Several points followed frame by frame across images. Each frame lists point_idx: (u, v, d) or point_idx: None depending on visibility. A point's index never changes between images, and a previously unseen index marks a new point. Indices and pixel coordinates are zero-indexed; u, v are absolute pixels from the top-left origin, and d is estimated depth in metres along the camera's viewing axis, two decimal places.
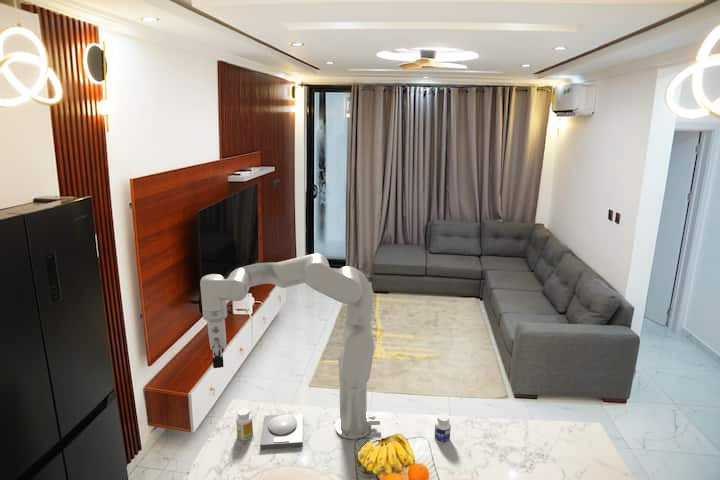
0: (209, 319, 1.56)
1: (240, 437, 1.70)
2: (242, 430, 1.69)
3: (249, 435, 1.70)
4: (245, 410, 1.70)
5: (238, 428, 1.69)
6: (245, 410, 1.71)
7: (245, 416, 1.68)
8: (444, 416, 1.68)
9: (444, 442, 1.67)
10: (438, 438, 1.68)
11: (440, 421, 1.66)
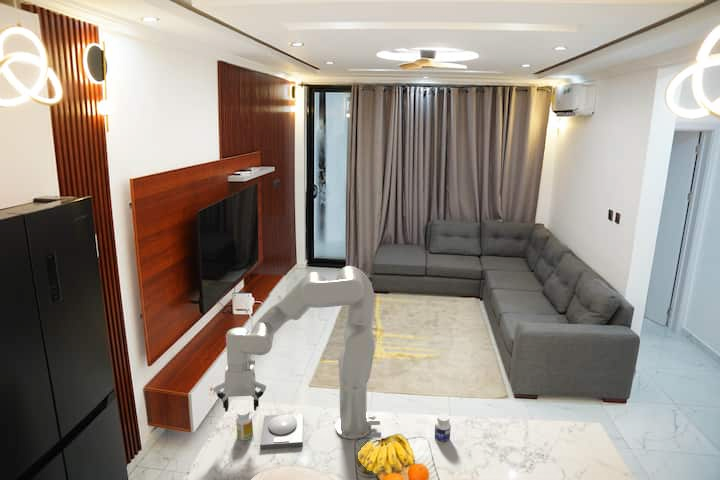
0: (248, 368, 1.64)
1: (240, 437, 1.70)
2: (242, 430, 1.69)
3: (249, 435, 1.70)
4: (245, 410, 1.70)
5: (238, 428, 1.69)
6: (245, 410, 1.71)
7: (245, 416, 1.68)
8: (444, 416, 1.68)
9: (444, 442, 1.67)
10: (438, 438, 1.68)
11: (440, 421, 1.66)
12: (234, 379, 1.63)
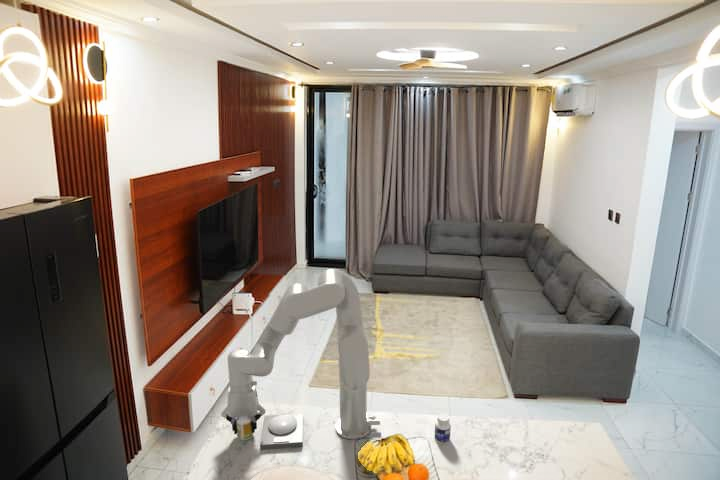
0: (250, 389, 1.66)
1: (240, 437, 1.70)
2: (242, 429, 1.69)
3: (249, 435, 1.70)
4: None
5: (238, 428, 1.69)
6: None
7: None
8: (444, 416, 1.68)
9: (444, 442, 1.67)
10: (438, 438, 1.68)
11: (440, 421, 1.66)
12: (237, 401, 1.66)
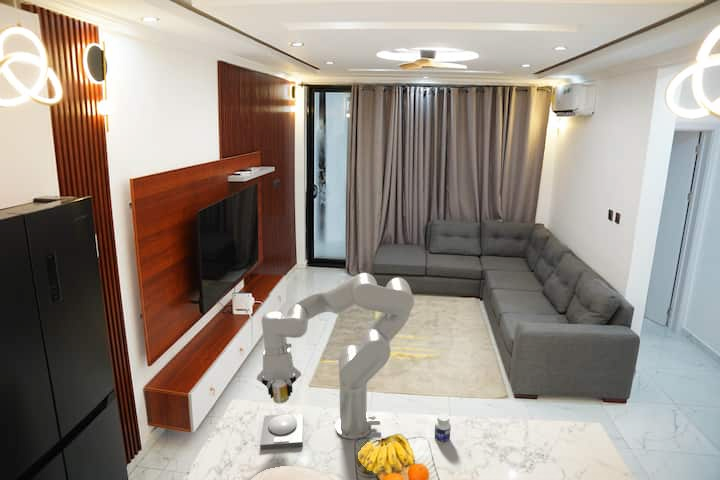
0: (286, 351, 1.65)
1: (276, 400, 1.69)
2: (278, 393, 1.68)
3: (285, 398, 1.69)
4: None
5: (274, 391, 1.68)
6: None
7: None
8: (444, 416, 1.68)
9: (444, 442, 1.67)
10: (438, 438, 1.68)
11: (440, 421, 1.66)
12: (272, 363, 1.65)
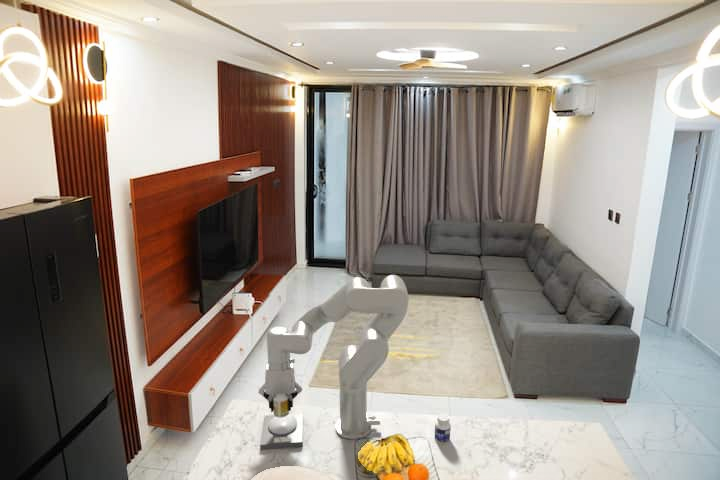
0: (289, 367, 1.67)
1: (277, 414, 1.70)
2: (279, 407, 1.69)
3: (285, 413, 1.71)
4: None
5: (275, 405, 1.70)
6: None
7: None
8: (444, 416, 1.68)
9: (444, 442, 1.67)
10: (438, 438, 1.68)
11: (440, 421, 1.66)
12: (275, 378, 1.66)
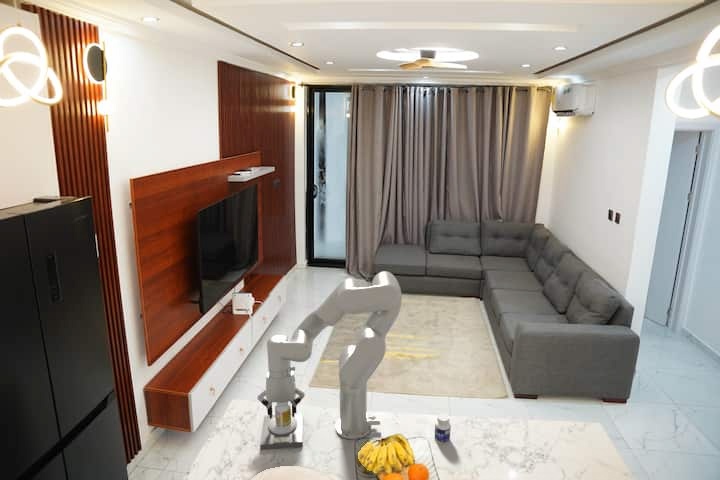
0: (289, 374, 1.67)
1: (279, 425, 1.72)
2: (281, 417, 1.71)
3: (288, 423, 1.72)
4: None
5: (277, 416, 1.71)
6: None
7: (284, 404, 1.70)
8: (444, 416, 1.68)
9: (444, 442, 1.67)
10: (438, 438, 1.68)
11: (440, 421, 1.66)
12: (276, 386, 1.67)
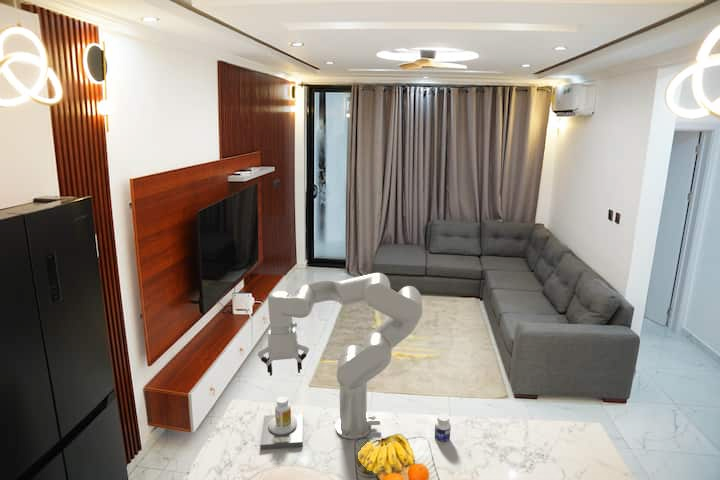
0: (291, 330, 1.66)
1: (279, 425, 1.72)
2: (281, 417, 1.71)
3: (288, 423, 1.72)
4: (284, 398, 1.72)
5: (277, 416, 1.71)
6: (283, 398, 1.72)
7: (284, 404, 1.70)
8: (444, 416, 1.68)
9: (444, 442, 1.67)
10: (438, 438, 1.68)
11: (440, 421, 1.66)
12: (278, 342, 1.65)
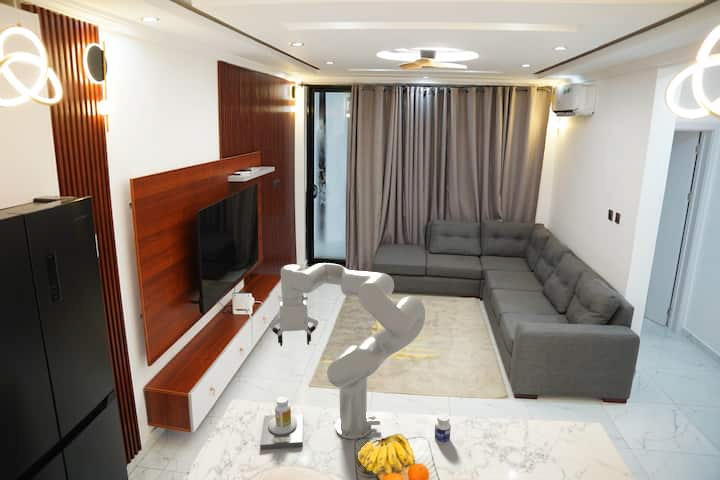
0: (302, 303, 1.72)
1: (279, 425, 1.72)
2: (281, 417, 1.71)
3: (288, 423, 1.72)
4: (284, 398, 1.72)
5: (277, 416, 1.71)
6: (283, 398, 1.72)
7: (284, 404, 1.70)
8: (444, 416, 1.68)
9: (444, 442, 1.67)
10: (438, 438, 1.68)
11: (440, 421, 1.66)
12: (289, 314, 1.72)
